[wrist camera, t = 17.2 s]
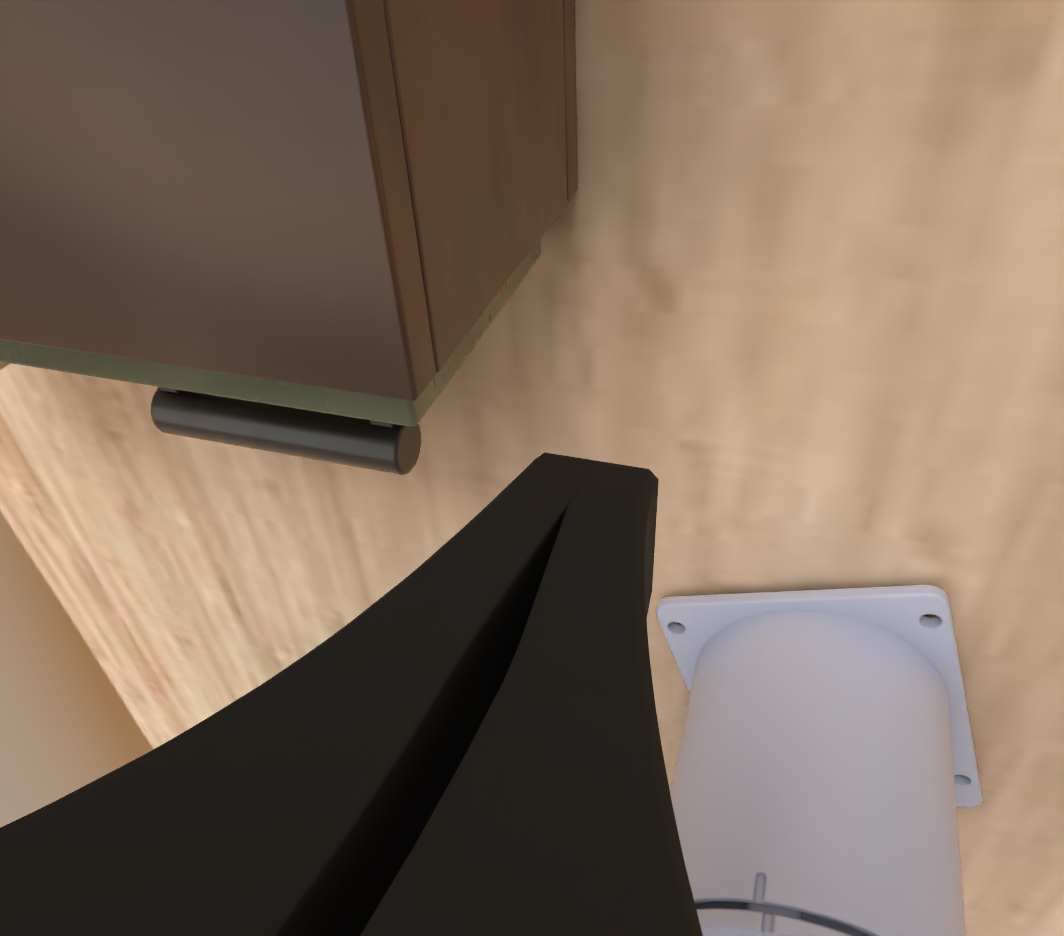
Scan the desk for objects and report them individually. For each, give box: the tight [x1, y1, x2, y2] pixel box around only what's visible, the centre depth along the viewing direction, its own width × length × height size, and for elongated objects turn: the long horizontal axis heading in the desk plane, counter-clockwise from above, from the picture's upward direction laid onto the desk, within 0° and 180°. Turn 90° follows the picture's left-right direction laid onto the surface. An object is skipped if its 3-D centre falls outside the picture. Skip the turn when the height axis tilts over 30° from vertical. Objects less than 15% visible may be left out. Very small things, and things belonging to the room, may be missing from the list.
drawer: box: [0, 239, 541, 475], centre depth 15 cm, size 17×12×7 cm
